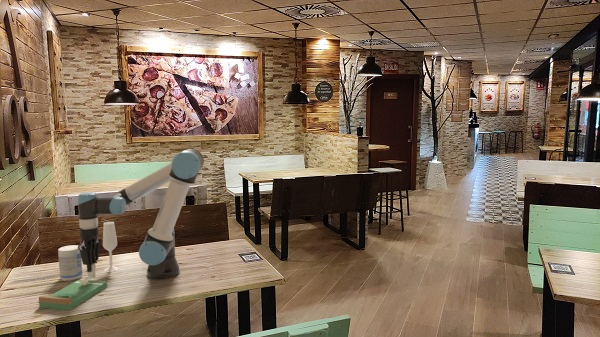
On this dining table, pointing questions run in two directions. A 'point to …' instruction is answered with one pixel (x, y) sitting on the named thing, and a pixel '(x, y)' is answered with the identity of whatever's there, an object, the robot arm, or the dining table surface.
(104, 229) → the champagne flute
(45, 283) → the dining table surface
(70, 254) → the supplement tub
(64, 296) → the green game board
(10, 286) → the dining table surface
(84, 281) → the ball
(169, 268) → the robot arm
